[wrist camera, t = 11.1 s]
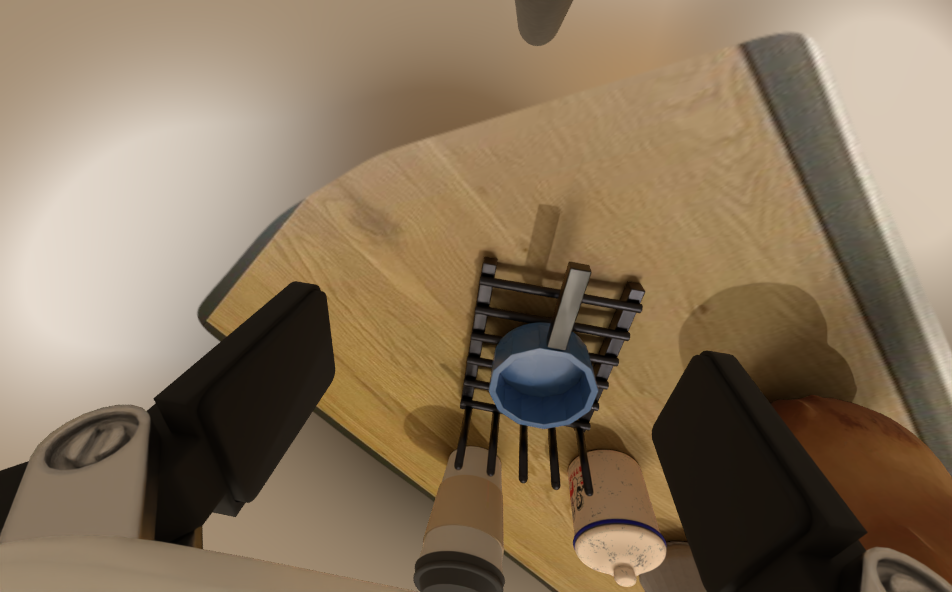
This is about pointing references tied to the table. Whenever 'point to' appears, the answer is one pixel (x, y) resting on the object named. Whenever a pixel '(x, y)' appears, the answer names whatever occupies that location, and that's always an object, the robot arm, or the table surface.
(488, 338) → the dish rack
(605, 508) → the teacup with lid
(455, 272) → the table surface
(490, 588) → the coffee cup
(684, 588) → the coffee pot
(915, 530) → the butternut squash
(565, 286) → the saucepan
